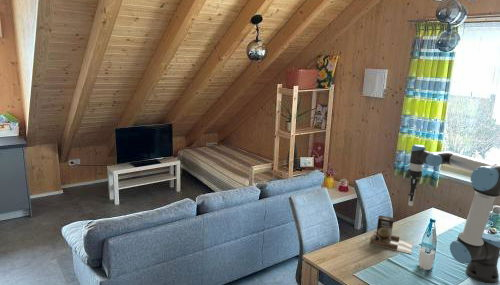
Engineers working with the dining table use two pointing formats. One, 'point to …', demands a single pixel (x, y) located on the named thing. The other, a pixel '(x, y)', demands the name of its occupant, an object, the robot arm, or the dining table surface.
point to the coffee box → (384, 229)
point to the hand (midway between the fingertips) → (411, 202)
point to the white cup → (426, 259)
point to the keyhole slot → (393, 244)
